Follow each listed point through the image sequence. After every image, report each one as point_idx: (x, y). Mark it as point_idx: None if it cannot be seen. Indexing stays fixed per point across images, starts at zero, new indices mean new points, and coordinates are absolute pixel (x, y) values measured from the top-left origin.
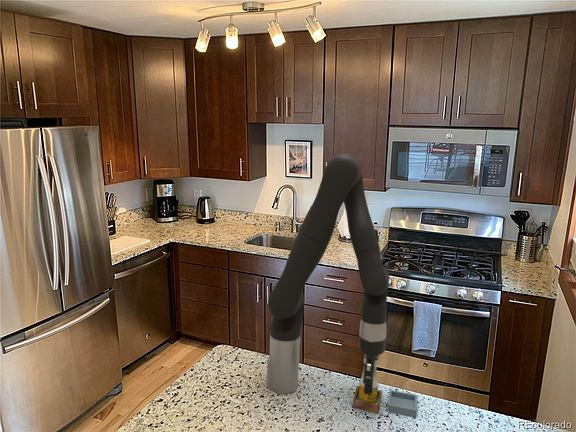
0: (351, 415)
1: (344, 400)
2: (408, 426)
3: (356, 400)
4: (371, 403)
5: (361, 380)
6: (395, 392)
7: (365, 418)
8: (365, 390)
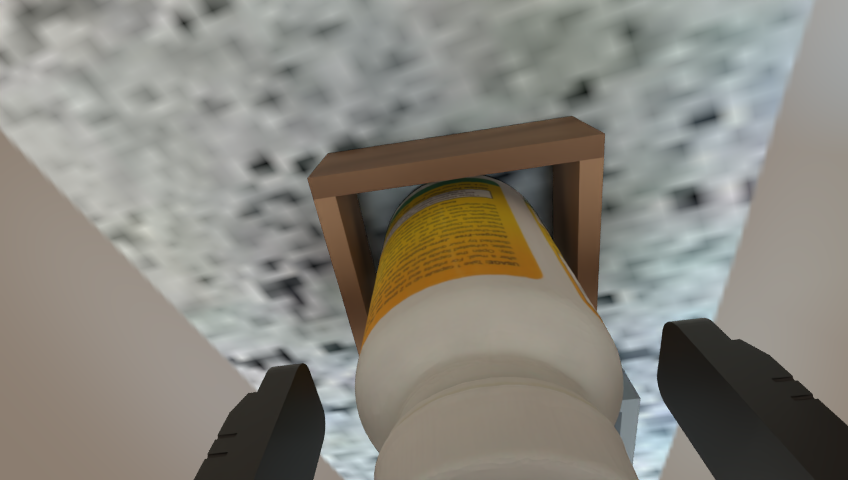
0: (224, 178)
1: (397, 42)
2: (351, 476)
3: (320, 213)
4: (359, 335)
5: (429, 344)
6: (619, 428)
7: (263, 279)
8: (219, 433)
